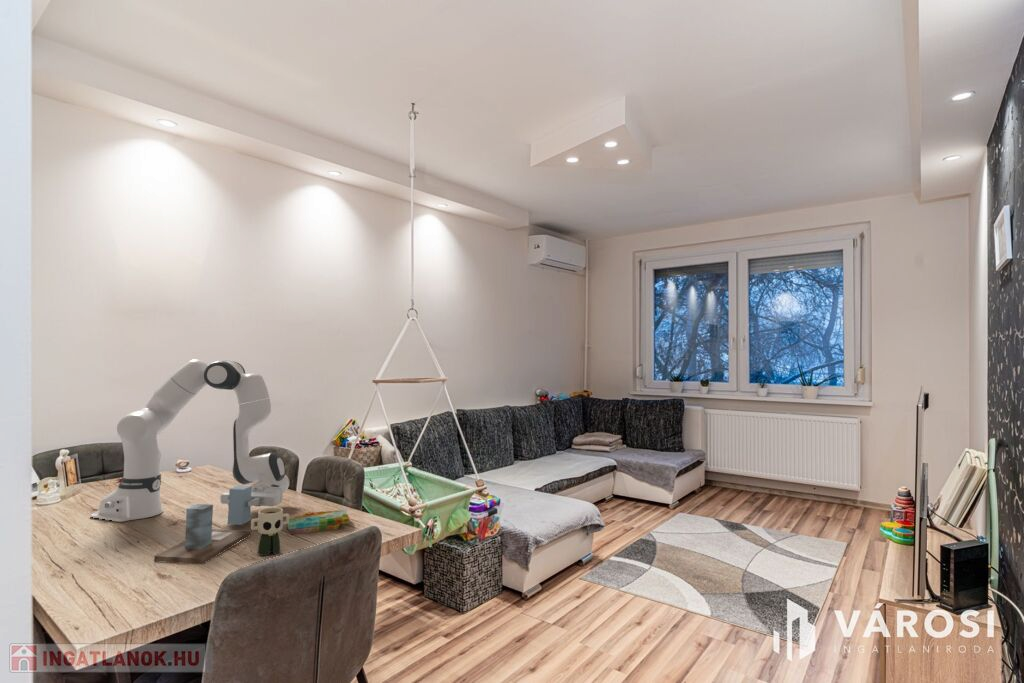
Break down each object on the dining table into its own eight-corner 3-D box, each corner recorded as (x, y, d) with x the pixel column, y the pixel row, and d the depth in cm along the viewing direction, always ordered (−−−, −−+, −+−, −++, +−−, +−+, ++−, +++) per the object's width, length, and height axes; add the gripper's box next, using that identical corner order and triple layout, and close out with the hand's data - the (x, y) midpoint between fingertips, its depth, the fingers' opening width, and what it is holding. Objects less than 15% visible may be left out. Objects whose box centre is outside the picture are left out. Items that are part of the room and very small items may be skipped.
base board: (154, 561, 149) (156, 514, 149) (207, 533, 173) (209, 493, 173) (203, 563, 148) (205, 516, 149) (250, 535, 172) (252, 494, 173)
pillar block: (227, 523, 177) (229, 488, 178) (236, 519, 182) (238, 485, 183) (241, 524, 177) (243, 489, 177) (249, 520, 182) (251, 486, 182)
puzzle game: (287, 512, 183) (345, 507, 192) (286, 526, 183) (345, 519, 192) (288, 522, 173) (349, 516, 181) (287, 536, 173) (349, 529, 181)
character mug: (252, 560, 151) (254, 516, 152) (246, 553, 157) (248, 510, 157) (290, 552, 158) (292, 510, 158) (284, 545, 164) (286, 504, 164)
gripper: (233, 483, 193) (210, 493, 180) (286, 486, 192) (266, 496, 178) (233, 500, 193) (209, 511, 179) (285, 503, 192) (265, 514, 178)
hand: (238, 503), depth 179 cm, fingers closed on pillar block, 5 cm apart
